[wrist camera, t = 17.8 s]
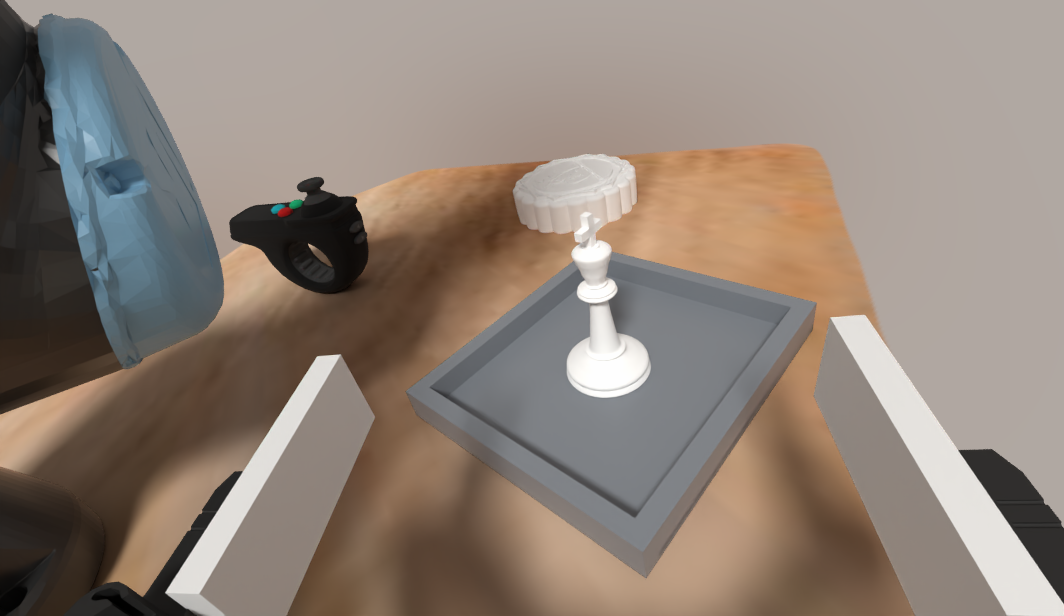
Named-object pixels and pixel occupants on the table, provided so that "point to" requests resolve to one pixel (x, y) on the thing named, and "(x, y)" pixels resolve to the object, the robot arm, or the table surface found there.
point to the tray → (618, 398)
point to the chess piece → (602, 326)
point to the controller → (308, 237)
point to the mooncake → (575, 192)
